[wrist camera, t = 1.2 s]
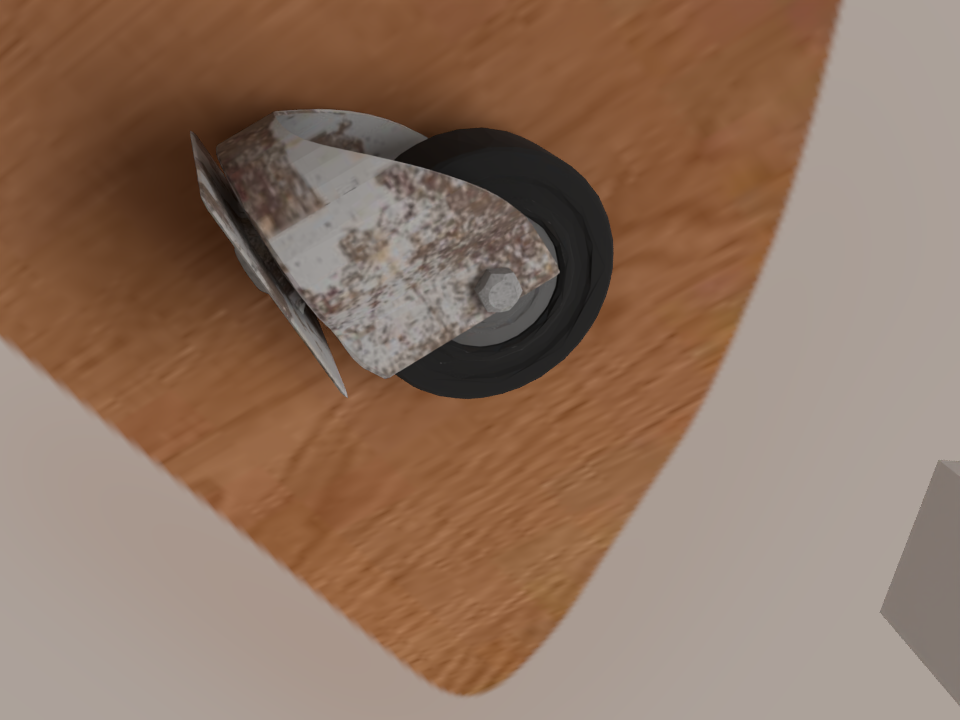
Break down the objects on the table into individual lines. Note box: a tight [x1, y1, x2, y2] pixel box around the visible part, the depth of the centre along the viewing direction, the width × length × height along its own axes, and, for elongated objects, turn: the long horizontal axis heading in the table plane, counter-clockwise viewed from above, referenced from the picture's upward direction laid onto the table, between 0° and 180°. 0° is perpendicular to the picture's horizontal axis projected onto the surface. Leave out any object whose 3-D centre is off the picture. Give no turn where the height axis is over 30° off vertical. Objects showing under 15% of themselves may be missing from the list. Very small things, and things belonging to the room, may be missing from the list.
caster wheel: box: [190, 109, 613, 399], centre depth 24 cm, size 7×11×10 cm
